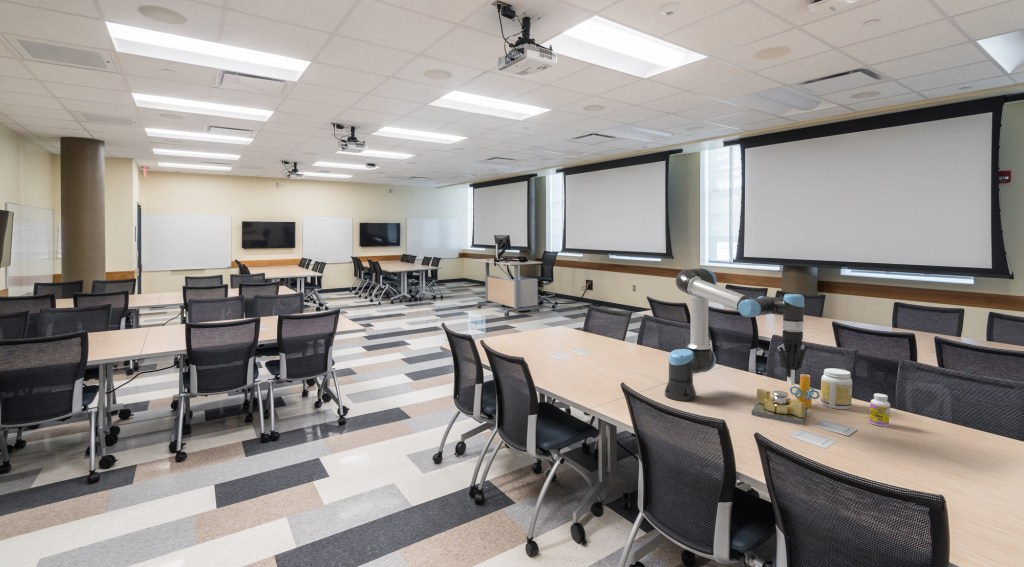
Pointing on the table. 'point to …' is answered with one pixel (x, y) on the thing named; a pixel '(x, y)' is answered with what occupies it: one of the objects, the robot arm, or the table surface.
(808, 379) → the cylinder
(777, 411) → the tan handled ring
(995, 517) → the table surface
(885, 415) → the supplement bottle
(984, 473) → the table surface
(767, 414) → the flange plate
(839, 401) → the supplement tub
